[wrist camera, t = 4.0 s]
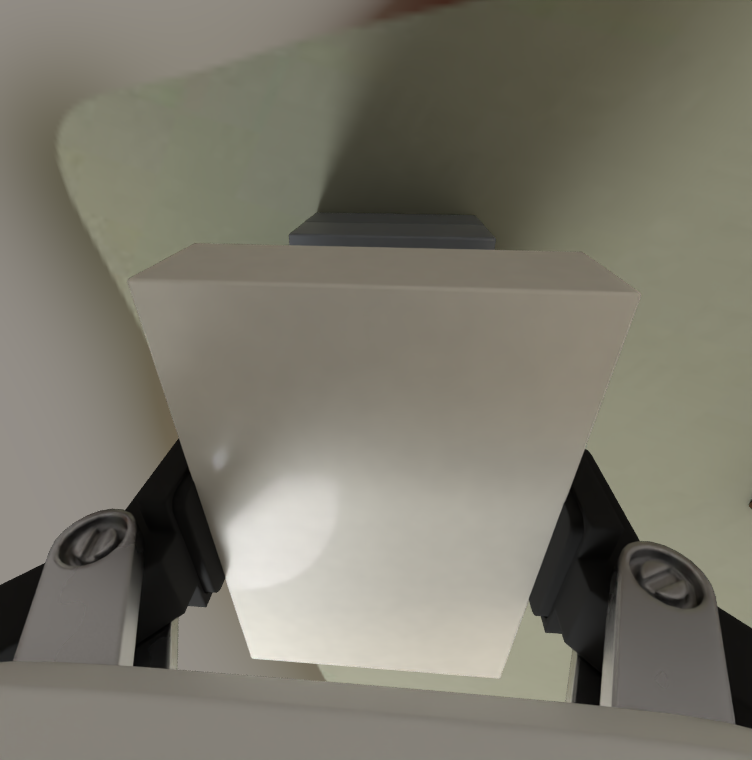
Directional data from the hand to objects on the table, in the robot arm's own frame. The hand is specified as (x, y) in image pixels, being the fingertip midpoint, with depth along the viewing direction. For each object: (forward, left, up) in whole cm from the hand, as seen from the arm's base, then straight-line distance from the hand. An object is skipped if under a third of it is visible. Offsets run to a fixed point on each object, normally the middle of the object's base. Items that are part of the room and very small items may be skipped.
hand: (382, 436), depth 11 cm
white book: (0, 0, +1) cm, 1 cm away
